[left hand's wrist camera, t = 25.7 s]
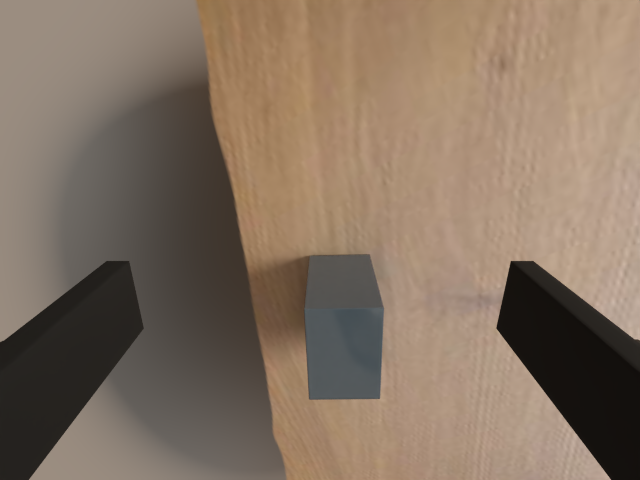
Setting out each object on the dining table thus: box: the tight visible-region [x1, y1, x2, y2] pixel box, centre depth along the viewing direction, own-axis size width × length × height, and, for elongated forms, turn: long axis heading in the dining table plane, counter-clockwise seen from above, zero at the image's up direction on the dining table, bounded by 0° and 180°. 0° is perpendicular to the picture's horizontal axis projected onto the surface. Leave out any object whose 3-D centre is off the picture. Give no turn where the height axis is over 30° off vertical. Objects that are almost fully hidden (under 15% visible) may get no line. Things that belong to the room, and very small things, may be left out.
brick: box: [304, 255, 384, 400], centre depth 28 cm, size 8×5×8 cm, turn 2°
